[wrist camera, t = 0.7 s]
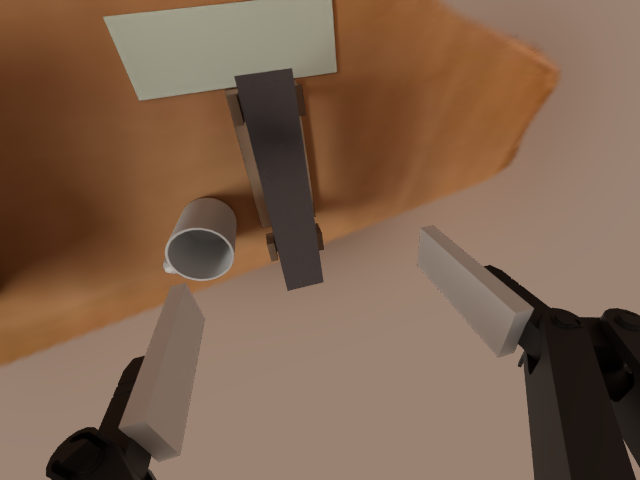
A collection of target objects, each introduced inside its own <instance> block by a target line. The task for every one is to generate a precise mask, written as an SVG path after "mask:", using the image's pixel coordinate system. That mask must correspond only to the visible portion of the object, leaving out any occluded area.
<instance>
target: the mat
mask: <svg viewBox="0 0 640 480" xmlns="http://www.w3.org/2000/svg"><path fill="white" fill-rule="evenodd" d="M103 18H104V21H105V23H106V25H107V28H108V30H109V32H110V34H111V37H112V39H113V41H114V44H115V46H116V48H117V51H118V53H119V55H120V58H121V60H122V62H123V64H124V67H125V69H126V71H127V74H128V76H129V78H130V81H131V83H132V85H133V87H134V90H135V92H136V94H137V97H138V99H139V101H141V100H148V99H155V98H162V97H169V96H176V95H183V94H190V93H196V92H203V91H210V90H217V89H224V88H231V87H237V86H236V82H235V78H234V76H239V75H246V74H253V73H260V72H267V71H274V70H282V69H289V68H292V71H293V78H300V77H307V76H314V75H321V74H328V73H334V72H337V65H336V51H335V37H334V23H333V8H332V0H255V1H245V2H236V3H227V4H217V5H208V6H199V7H189V8H180V9H171V10H161V11H152V12H142V13H133V14H124V15H114V16H105V17H103Z"/></svg>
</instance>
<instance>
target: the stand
mask: <svg viewBox="0 0 640 480" xmlns="http://www.w3.org/2000/svg"><path fill="white" fill-rule="evenodd" d="M294 85H295V92H296V98H297V105H298V112H299V119H300V126H301V132H302V139H303V146H304V153H305V160H306V167H307V173H308V180H309V187H310V194H311V201H312V207H313V214H314V217H316V216H315V209H314V202H313V195H312V188H311V181H310V174H309V167H308V160H307V153H306V146H305V139H304V132H303V125H302V118H301V116H304V115H306V112H305V104H304V97H303V89H302V85H300V84H297V83H296V80H294ZM225 94H226V98H227V101H228V105H229V109H230V112H231V116H232V120H233V123H234V127H235V131H236V134H237V138H238V142H239V145H240V149H241V153H242V156H243V160H244V164H245V167H246V171H247V175H248V178H249V182H250V185H251V189H252V193H253V196H254V200H255V204H256V207H257V211H258V215H259V218H260V222H261V226H262V228H265V227H270V226H271V222H270V218H269V214H268V210H267V206H266V202H265V198H264V194H263V190H262V186H261V182H260V178H259V174H258V170H257V166H256V162H255V158H254V154H253V150H252V146H251V142H250V138H249V134H248V130H247V126H246V122H245V118H244V114H243V110H242V106H241V102H240V98H239V94H238V90H237V89H231V90H225ZM315 228H316V235H317V242H318V248H319V250H324V246H323V239H322V232H321V230H320V228H319V226H318V224H317V223H316V224H315ZM266 239H267V246H268V250H269V254H270V257H271V261H275V260H278V255H277V251H278V250H277V246H276V242H275V238H274V234H273V233H269V234H266Z"/></svg>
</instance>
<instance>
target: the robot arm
mask: <svg viewBox="0 0 640 480" xmlns="http://www.w3.org/2000/svg"><path fill="white" fill-rule="evenodd" d="M417 266H418V267H419V268H420V269H421V270H422V271H423V273H424V274H425V275H426V276H427V277H428V278H429V279H430V281H431V282H432V283H433V284H434V285H435V286H436V287H437V289H438V290H439V291H440V292H441V293H442V294H443V295H444V297H445V298H446V299H447V300H448V301H449V302H450V303H451V305H453V307H454V308H455V309H456V310H457V311H458V312H459V314H460V315H461V316H462V317H463V318H464V319H465V320H466V321H467V323H468V324H469V325H470V326H471V327H472V328H473V330H474V331H475V332H476V333H477V334H478V335H479V336H480V338H482V340H483V341H484V342H485V343H486V344H487V345H488V347H489V348H490V349H491V350H492V351H493V352H494V353H495V355H496V356H497V357H502V356H505V355H508V354H511V353H514V351H515V349H516V347H517V345H518V344H519V345H520V346H521V347H522V348H523V349H524V352H523V354H522V356H521V358H520V361H519V363H518V367H521V366H522V364H523V362H524V373H525V383H526V394H527V403H528V414H529V425H530V436H531V447H532V457H533V469H534V479H535V480H636V478H635V475H634V472H633V469H632V466H631V463H630V459H629V457H628V453H627V450H626V447H625V444H624V441H625V443H626V445H627V446H628V448H629V450H630V451H631V453H632V455H633V457H634V458H635V460H636V462H637V464H638V465H639V467H640V316H639V315H638V314H636V313H633V312H630V311H627V310H623V309H618V308H616V309H615V308H614V309H608V310H606V311H605V312H604V313H603V315H602V316H601V318H595V317H594V318H593V317H591V318H590V317H578V316H577V315H575V314H573V313H571V312H569V311H566V310H563V309H557V308H550V307H548V306H547V305H546V304H544V303H543V302H542V301H540V300H539V299H538V298H537V297H535V296H534V295H533V294H531V293H530V292H529V291H528V290H526V289H525V288H524V287H522V286H521V285H519V284H518V283H517V282H516V281H515V280H513V279H511V277H510V276H508V275H507V274H506V273H504V272H503V271H502V270H500V269H497V268H495V267H493V266H491V265H488V266H484V267H483V266H482V265H481V264H480V263H478V262H477V261H476V260H475V259H473V258H472V257H471V256H470V255H469V254H467V253H466V252H465V251H464V250H462V249H461V248H460V247H459V246H458V245H456V244H455V243H454V242H453V241H452V240H450V239H449V238H448V237H447V236H445V235H444V234H443V233H442V232H440V231H439V230H438V229H437V228H436V227H435V226H433V225H432V226H427V227H423V228H421V229H420V239H419V250H418V260H417ZM204 321H205V318H204V316H203V314H202V312H201V310H200V308H199V306H198V305H197V303H196V301H195V299H194V297H193V295H192V293H191V291H190V289H189V288H188V286H187V284H186V283H184V284H179V285H175V286H171V287H170V290H169V292H168V295H167V298H166V301H165V303H164V306H163V309H162V312H161V314H160V317H159V319H158V322H157V325H156V328H155V330H154V333H153V336H152V339H151V341H150V344H149V346H148V349H147V352H146V355H145V356H142V357H138V358H134V359H133V360H132V361H131V362H130V364H129V365H128V366H127V367H126V369H125V370H124V371H123V373H122V376H121V378H120V380H119V383H118V387H117V388H116V390H115V392H114V395H113V396H114V397H113V398H112V399H111V402H110V404H109V407H108V409H107V411H106V414H105V416H104V418H103V420H102V423H101V425H100V428H99V430H97V429H96V428H94V427H87V428H84V429H81V430H79V431H77V432H75V433H74V434H72V435H71V436H69V437H68V438H67V439H66V440H65V441H64V442H63V443H62V444H61V445H60V446H59V447H58V448H57V449H56V451H55V452H54V453H53V455H52V456H51V458H50V460H49V462H48V465H47V467H46V476H47V477H49V478H51V479H52V480H156V478H155V476H154V475H153V473H152V472H151V471H150V470H149V469H148V467H149V463H150V459H151V456H152V457H153V458H154V459H156V460H157V461H158V462H160V461H163V460H167V459H170V458H173V457H177V456H180V454H181V449H182V443H183V438H184V432H185V427H186V421H187V416H188V410H189V405H190V399H191V394H192V388H193V383H194V377H195V371H196V366H197V360H198V355H199V349H200V344H201V338H202V333H203V327H204ZM623 439H624V441H623Z"/></svg>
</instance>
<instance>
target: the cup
mask: <svg viewBox="0 0 640 480" xmlns="http://www.w3.org/2000/svg"><path fill="white" fill-rule="evenodd" d="M236 229H237V223H236V216H235V214H234V212H233V210H232V209H231V208H230V207H229V206H228V205H227V204H226V203H224V202H222V201H220V200H218V199H214V198H200V199H196V200H194V201H192V202H190V203H189V204H188V205H187V206H186V207H185V208H184V210H183V212H182V214H181V216H180V218H179V220H178V222H177V224H176V226H175V228H174V230H173V232H172V234H171V237H170V239H169V241H168V243H167V245H166V248H165V256H166V258H165V260H164V263H163V267H164V269H165V271H166V272H167V273H172V274H175V273H178V274H179V275H181V276H183V277H185V278H188V279H191V280H198V281H205V280H212V279H215V278H218V277H220V276H222V275H224V274H225V273H226V272H227V271H228V270H229V269H230V267H231V266H232V264H233V260H234V253H235V241H236Z"/></svg>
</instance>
